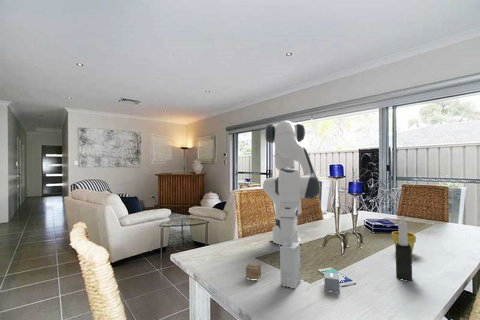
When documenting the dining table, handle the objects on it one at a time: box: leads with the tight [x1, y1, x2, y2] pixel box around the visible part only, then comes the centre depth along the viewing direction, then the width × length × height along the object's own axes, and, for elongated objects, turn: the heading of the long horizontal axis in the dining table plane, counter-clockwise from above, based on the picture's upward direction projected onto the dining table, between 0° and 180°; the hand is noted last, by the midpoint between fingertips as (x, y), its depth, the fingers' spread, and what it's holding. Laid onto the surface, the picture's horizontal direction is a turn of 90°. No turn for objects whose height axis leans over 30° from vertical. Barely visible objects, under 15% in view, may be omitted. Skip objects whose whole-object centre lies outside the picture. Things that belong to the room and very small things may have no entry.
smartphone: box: [318, 267, 357, 286], centre depth 99 cm, size 7×1×15 cm
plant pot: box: [391, 230, 417, 253], centre depth 126 cm, size 10×10×10 cm
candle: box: [395, 215, 413, 282], centre depth 98 cm, size 5×5×25 cm
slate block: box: [323, 272, 340, 294], centre depth 90 cm, size 5×5×5 cm
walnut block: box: [245, 262, 262, 280], centre depth 99 cm, size 5×5×5 cm
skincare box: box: [279, 242, 302, 289], centre depth 95 cm, size 8×6×15 cm
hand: (290, 244), depth 95 cm, fingers closed
